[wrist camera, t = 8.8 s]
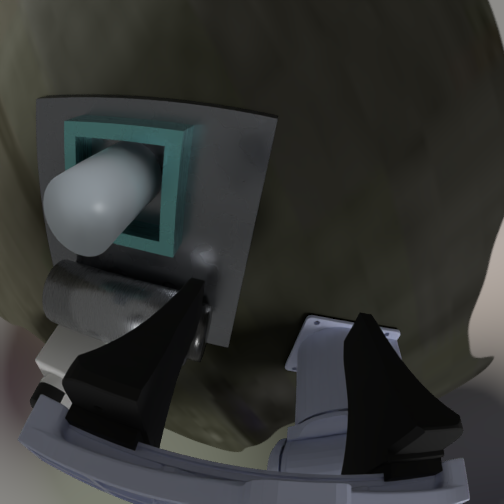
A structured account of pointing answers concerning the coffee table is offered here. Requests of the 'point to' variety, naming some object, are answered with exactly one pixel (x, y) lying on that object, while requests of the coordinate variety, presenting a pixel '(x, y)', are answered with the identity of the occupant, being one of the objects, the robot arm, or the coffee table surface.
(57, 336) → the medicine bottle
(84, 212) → the white rounded cylinder
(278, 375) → the coffee table surface
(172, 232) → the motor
